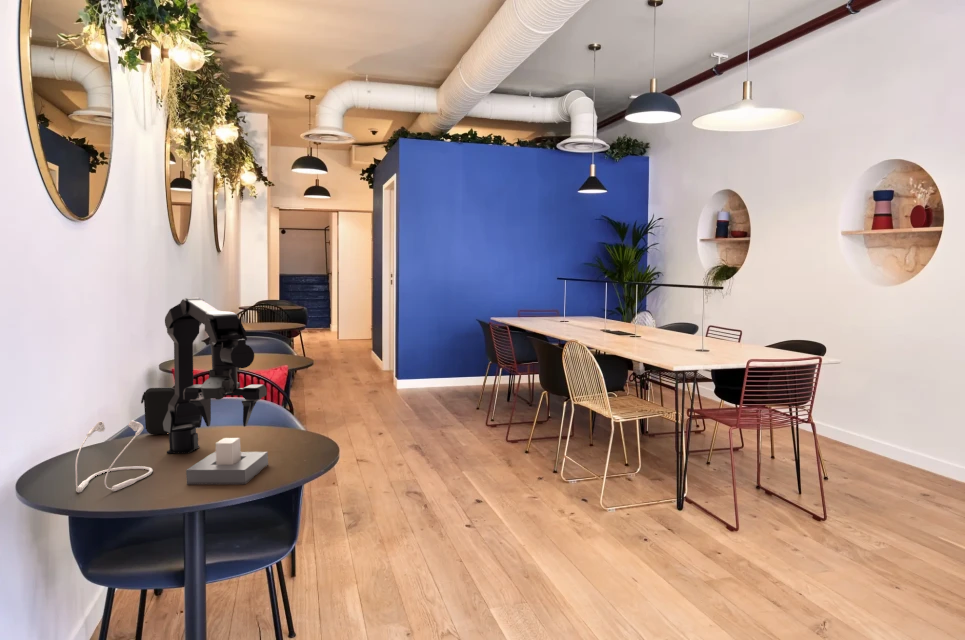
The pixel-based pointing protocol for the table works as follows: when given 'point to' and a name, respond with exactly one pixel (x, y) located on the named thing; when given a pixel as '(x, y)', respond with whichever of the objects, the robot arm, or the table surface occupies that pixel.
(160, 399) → the carrying case or bag
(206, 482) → the socket block
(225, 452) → the plug
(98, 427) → the earphone
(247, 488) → the table surface
